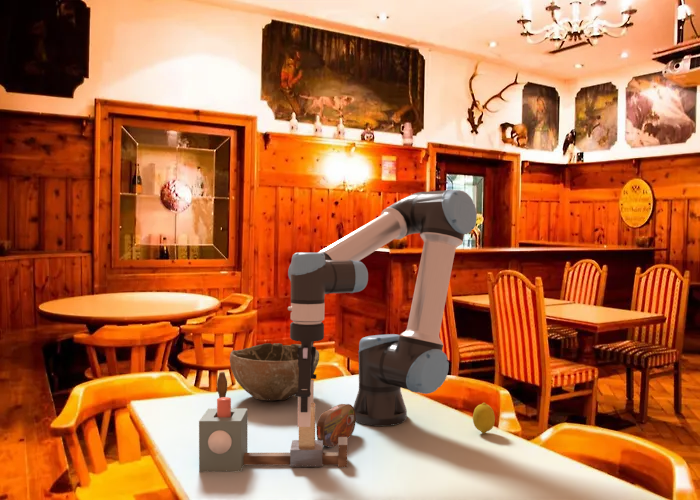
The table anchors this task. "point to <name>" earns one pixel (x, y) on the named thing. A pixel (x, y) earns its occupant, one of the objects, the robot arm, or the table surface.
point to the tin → (336, 424)
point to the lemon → (483, 418)
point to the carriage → (307, 446)
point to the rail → (284, 458)
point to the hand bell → (222, 385)
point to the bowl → (268, 370)
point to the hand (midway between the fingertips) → (305, 416)
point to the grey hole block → (222, 441)
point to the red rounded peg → (224, 407)
